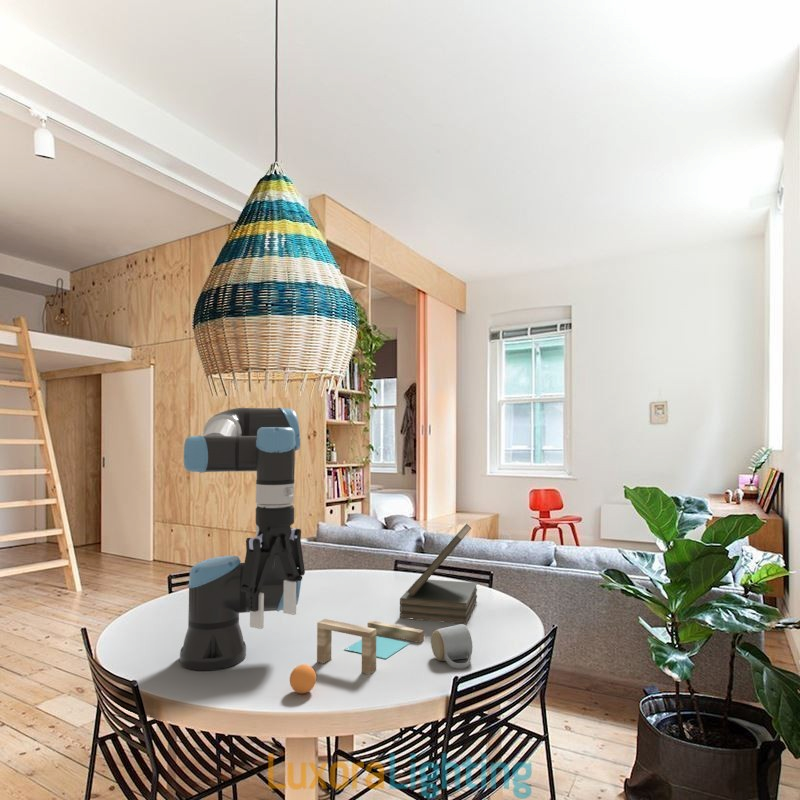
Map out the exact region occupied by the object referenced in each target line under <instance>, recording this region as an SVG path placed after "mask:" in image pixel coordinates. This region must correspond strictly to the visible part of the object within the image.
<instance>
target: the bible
mask: <svg viewBox="0 0 800 800" xmlns="http://www.w3.org/2000/svg"><path fill="white" fill-rule="evenodd" d="M471 530H472V527H471V526H470V525H469V524H468V523H466V524H465V525H464V526H463V527H461V529H460V530H459V531H458V533H456V535H455V536H454V537H453V538H452V539H451V540H450V542H449V543H448V544H447V545H446V546H445V547H444V549H443V550H442V551H441V552H440V553H439V554H438V556H437V557H436V558H435V559H434V561H433V562H432V563H431V564H430V565H429V566H428V567H427V568H426V570H425V571H424V572H423V573H422V574H421V575H420V577H418V578H417V579H416V580H415V581H414V582H413V584H412V585H411V586H410V587H409V588H408V589H407V590H406V591H405V593H403V594H402V596H400V598H399V619H405V618H413V619H412V620H416V619H423V620H422V621H428V620H432V621H431V622H439V621H444V622H443V623H451V622H454V623H453V624H463V623H465V624H464V625H466V624H467V623H468V621H469V619H470V617H471V614H472V613H473V610H474V609H475V608H474V607H475V605H476V604H477V598H478V595H477V592H478V588H477V585H478V583H477V582H469V581H456V580H454V581H453V580H443V579H429V578H430V577H431V576H433V574H435V573H434V572H436V571H437V569H438V568H439V567H440V566H441V565H442V563H443V562H444V561H445V560H447V558H448V557H449V555H450V554H451V553H452V552H453V551H454V550H455V548H457V547H458V545H459V544H460V543H461V541H462V540H463V539H464V538H465V537H466V536H467V534H469V532H470V531H471ZM469 616H470V617H469Z"/></svg>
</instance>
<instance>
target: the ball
mask: <svg viewBox="0 0 800 800" xmlns="http://www.w3.org/2000/svg"><path fill="white" fill-rule="evenodd" d="M316 681H317V674H316V672H315V670H314V668H313V667H312V666H310V665H308V664H298V665H297V666H296V667H294V669H292V671H291V673H290V675H289V685H290V687H291V689H292V690H293V691H295V693H297V694H306V693H307V694H308V693H309V692H311V691H312V689H313V688H314V687H315V685H316V683H317V682H316Z"/></svg>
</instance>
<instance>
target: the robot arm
mask: <svg viewBox="0 0 800 800" xmlns="http://www.w3.org/2000/svg"><path fill="white" fill-rule="evenodd" d="M300 430H301V429H300V425H299V418H298V415H297V413H296V411H295V410H294V409H292V408H281V407H277V408H275V407H274V408H273V407H272V408H271V407H270V408H268V407H267V408H266V407H262V408H261V407H260V408H259V407H236V408H230V409H227V410H224V411H221V412H219V413H217V414H215V415H213V416H212V417H210V418H209V419H208V420H207V422H205V425H204V427H203V435H201V434H199V435H194V436H187V437H186V438H185V440H184V444H183V466H184V469H185V470H186V471H187V472H191V473H200V474H202V473H203V474H204V473H212V472H213V473H215V472H216V473H217V472H219V473H220V472H221V473H222V472H225V473H226V472H256V481H255V482H256V483H255V504H256V507H255V524H256V525H255V536H254V537H247V538H246V540H245V545H246V551H245V552H246V553H245V557H244V562H241V559H240V557H239V556H237V555H223V556H222V555H221V556H218V557H217V556H216V557H211V558H207V559H205V560H202V561H200V562H198V563H195V564H194V565H193V566H191V569H190V571H189V578H188V584H187V588H188V616H187V617H188V621H187V626H188V627H187V631H186V633H185V637H184V640H183V645H182V647H181V649H180V651H179V663H180V666H182V667H183V668H185V669H189V670H194V671H215V670H221V669H225V668H226V669H227V668H229V667H230V668H231V667H233V666H235V665H237V664H239V663H241V662H242V661H244V660H245V658H246V656H247V645H246V642H245V641H244V636H243V632H242V629H241V625H240V613H241V614H242V613H243V614H244V613H249V627H250V628H255V629H259V630H262V629H264V625H265V624H264V618H265V615H264V614H265V613H264V612H275V611H276V612H280V611H282V612H283V614H287V615H292V616H295V615H297V605H298V604H299V599H300V592H301V587H302V586H301V585H302V581H303V576H304V575H305V573H306V570H305V563H304V562H305V561H304V557H303V556H304V555H303V548H302V543H301V542H302V541H301V538H302V537H301V536H302V529H300V528H294V527H291V526H292V525H294V524H295V506H294V505H292V504H293V503H294V502H295V467H296V465H295V464H296V451H298V450H300V448H301V434H300V433H301V432H300Z"/></svg>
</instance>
